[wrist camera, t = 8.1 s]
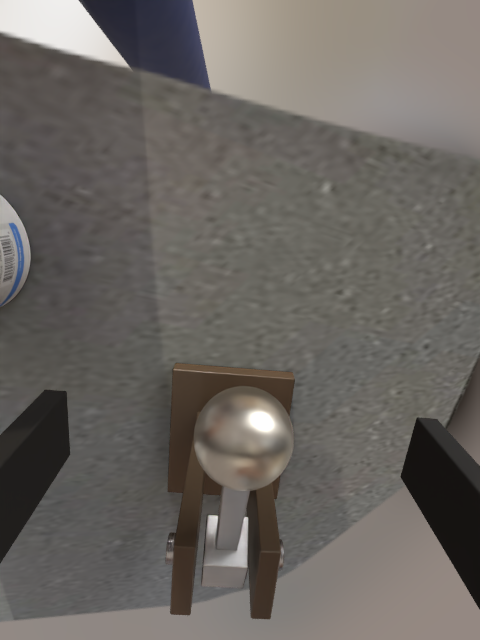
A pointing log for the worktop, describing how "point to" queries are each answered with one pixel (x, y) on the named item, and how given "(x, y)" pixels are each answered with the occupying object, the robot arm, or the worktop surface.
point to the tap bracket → (190, 479)
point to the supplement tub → (12, 253)
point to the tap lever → (238, 471)
